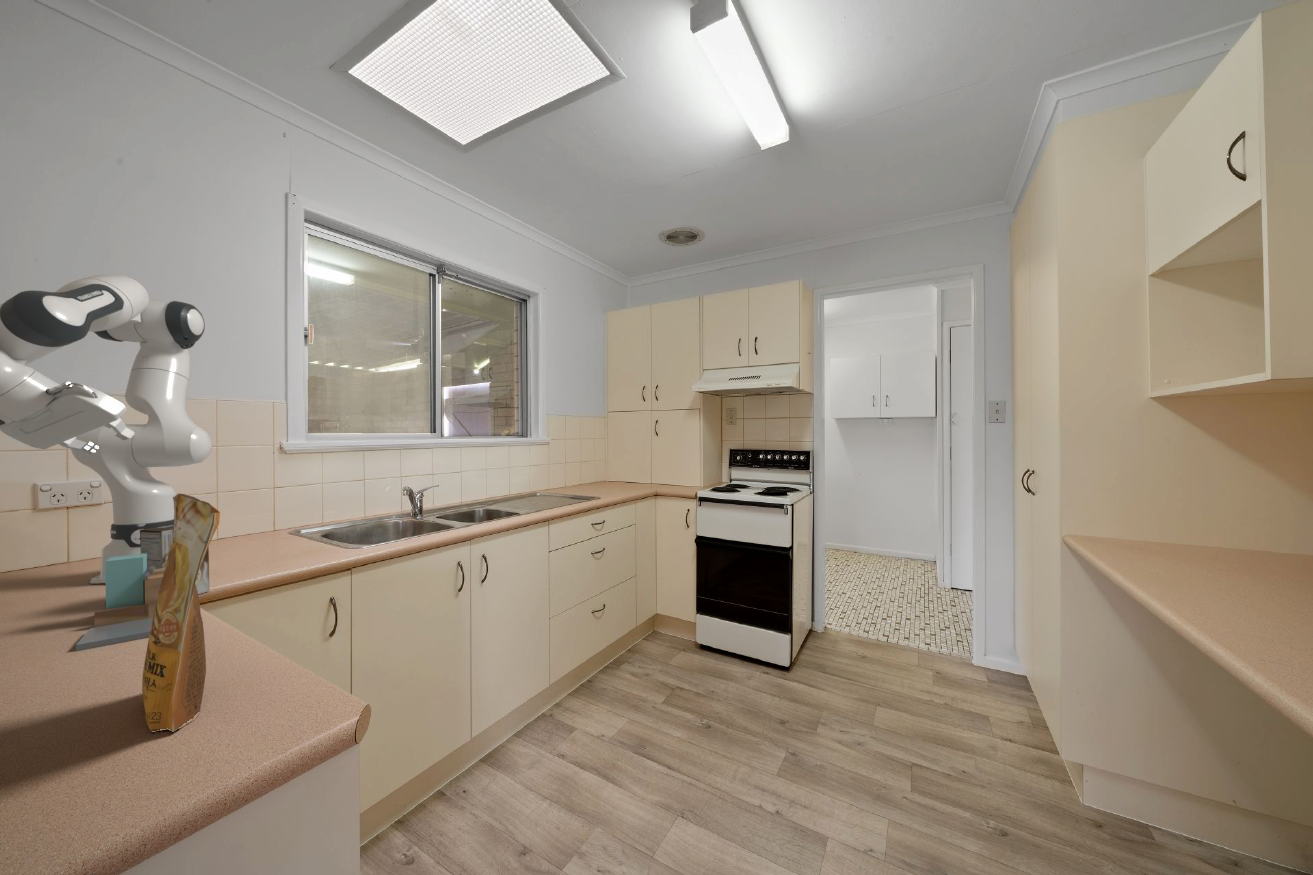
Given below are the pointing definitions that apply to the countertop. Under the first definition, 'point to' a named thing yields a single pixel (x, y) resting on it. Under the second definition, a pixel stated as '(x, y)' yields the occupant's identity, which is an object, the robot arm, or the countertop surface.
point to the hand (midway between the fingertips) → (112, 444)
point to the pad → (115, 634)
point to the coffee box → (158, 548)
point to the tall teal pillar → (125, 580)
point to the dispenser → (135, 611)
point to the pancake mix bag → (179, 622)
